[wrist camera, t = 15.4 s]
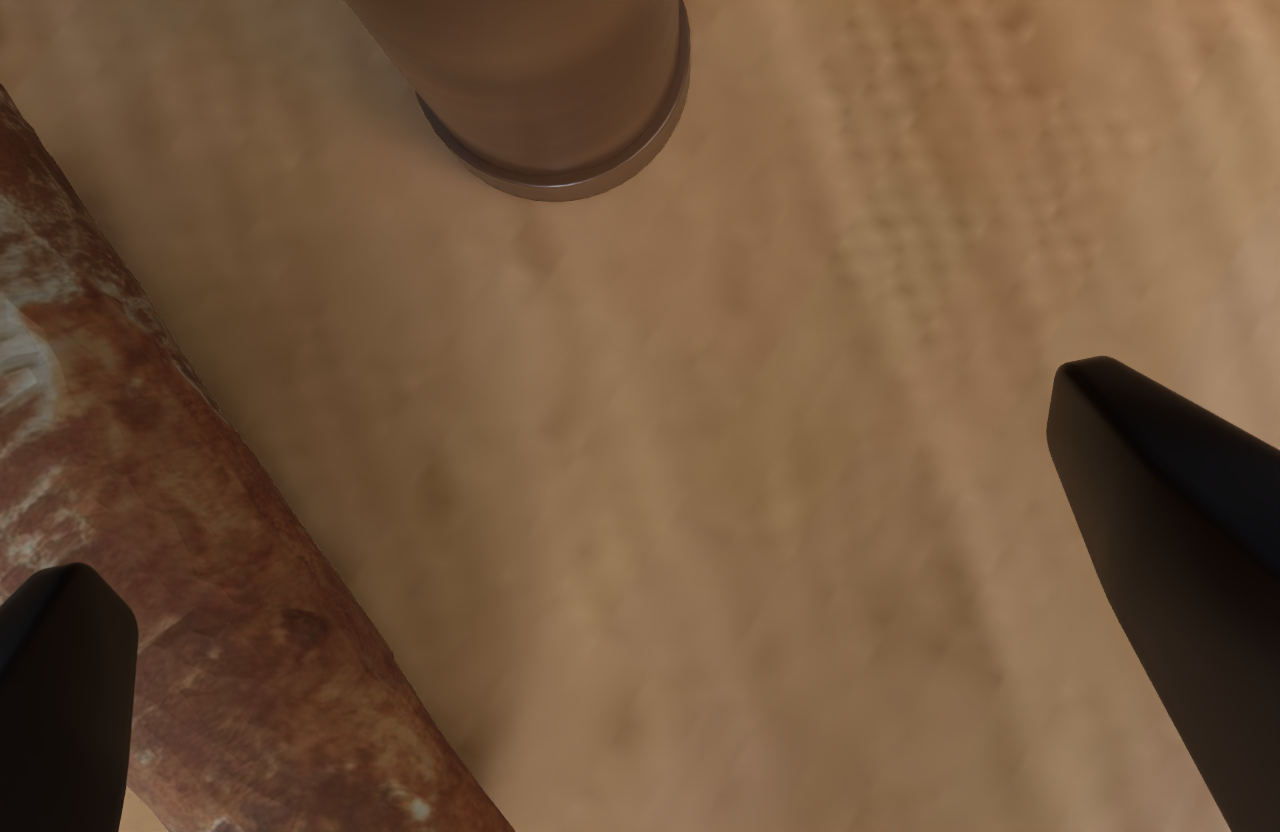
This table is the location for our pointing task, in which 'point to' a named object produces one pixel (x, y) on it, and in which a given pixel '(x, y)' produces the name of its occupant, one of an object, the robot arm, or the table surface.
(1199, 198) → the table surface
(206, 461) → the brown cylinder
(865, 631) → the table surface
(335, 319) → the table surface
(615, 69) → the pepper mill
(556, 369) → the table surface
